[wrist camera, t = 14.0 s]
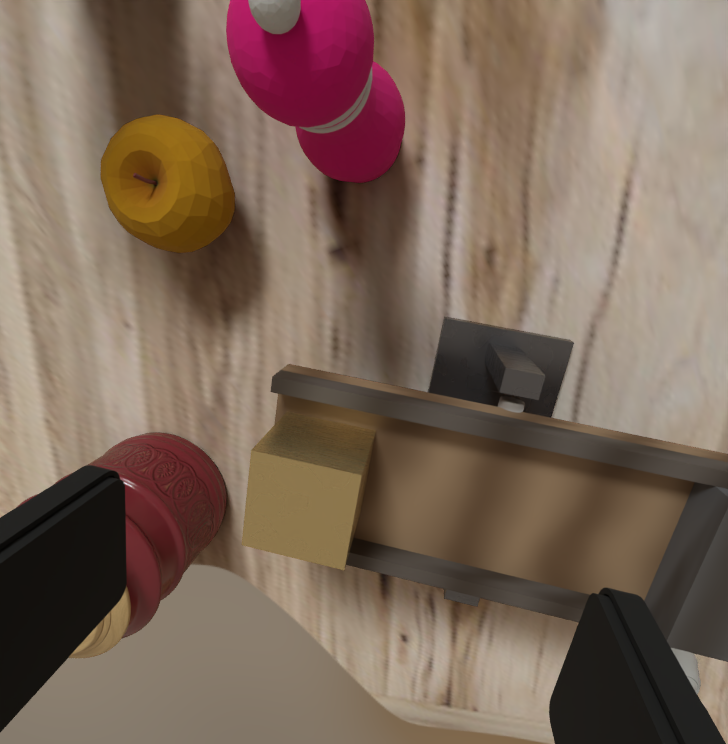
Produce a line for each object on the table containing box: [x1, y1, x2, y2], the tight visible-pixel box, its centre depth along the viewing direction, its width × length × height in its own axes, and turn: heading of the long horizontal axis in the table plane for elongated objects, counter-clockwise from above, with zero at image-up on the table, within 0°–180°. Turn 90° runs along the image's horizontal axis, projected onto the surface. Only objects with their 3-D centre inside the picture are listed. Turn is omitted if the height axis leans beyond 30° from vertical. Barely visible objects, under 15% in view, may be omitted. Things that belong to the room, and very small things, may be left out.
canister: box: [16, 433, 227, 658], centre depth 36 cm, size 13×13×18 cm
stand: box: [428, 317, 574, 606], centre depth 34 cm, size 10×20×9 cm, turn 170°
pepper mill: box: [226, 0, 405, 183], centre depth 24 cm, size 7×7×20 cm
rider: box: [242, 412, 376, 570], centre depth 27 cm, size 6×6×6 cm
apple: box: [101, 114, 235, 253], centre depth 32 cm, size 9×9×9 cm
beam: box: [271, 364, 728, 662], centre depth 29 cm, size 30×13×6 cm, turn 80°
